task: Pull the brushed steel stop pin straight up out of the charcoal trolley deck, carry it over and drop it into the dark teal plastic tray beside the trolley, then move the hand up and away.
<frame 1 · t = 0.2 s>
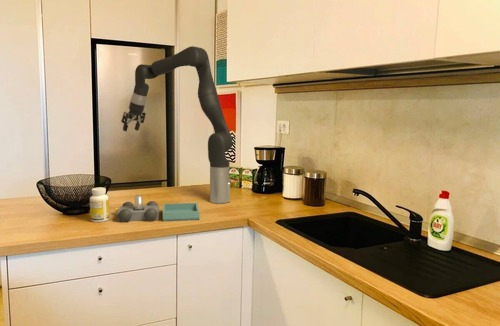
hand: (130, 130, 220), 31 cm above the worktop, tool tilted 20°, fingers open, 8 cm apart
supplement bottle: (100, 220, 165), on the worktop
stop pin: (139, 217, 170), resting in trolley
tray: (180, 215, 173), on the worktop
trolley: (139, 217, 170), on the worktop
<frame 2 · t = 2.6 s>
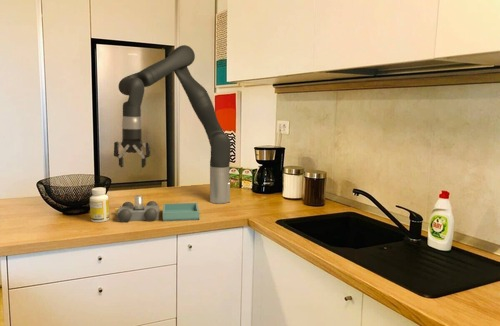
hand: (132, 167, 169), 20 cm above the worktop, tool pointing down, fingers open, 8 cm apart
nothing on the worktop moved.
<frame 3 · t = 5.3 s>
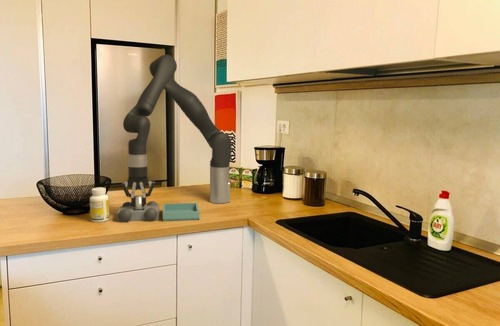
hand: (138, 206, 169), 5 cm above the worktop, tool pointing down, fingers closed on stop pin, 3 cm apart
stop pin: (139, 217, 170), resting in trolley, touching gripper
everything else where it was.
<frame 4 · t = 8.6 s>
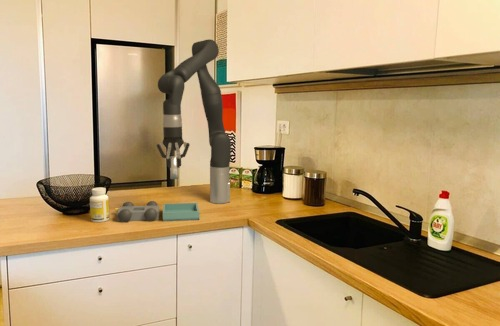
hand: (174, 167, 170), 21 cm above the worktop, tool pointing down, fingers closed on stop pin, 3 cm apart
stop pin: (174, 178, 170), point 16 cm above the worktop, touching gripper
everything else where it was.
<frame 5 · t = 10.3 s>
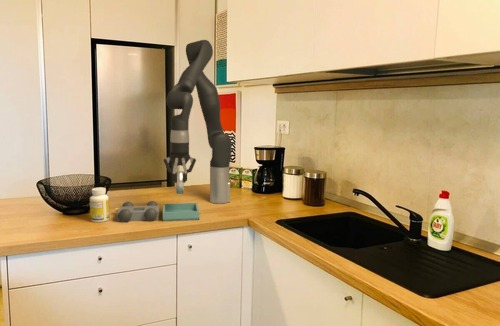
hand: (179, 182, 171), 14 cm above the worktop, tool pointing down, fingers closed on stop pin, 3 cm apart
stop pin: (179, 193, 172), point 10 cm above the worktop, touching gripper
everything else where it was.
when the fingers open (7 cm above the worktop, at t = 11.9 s): stop pin drops 1 cm, resting on tray.
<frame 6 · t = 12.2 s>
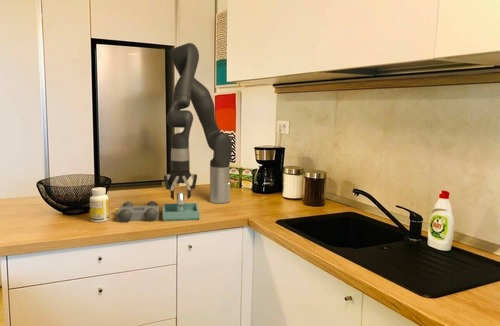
hand: (180, 198, 172), 7 cm above the worktop, tool pointing down, fingers open, 5 cm apart
stop pin: (180, 213, 173), point 1 cm above the worktop, touching tray
everything else where it was.
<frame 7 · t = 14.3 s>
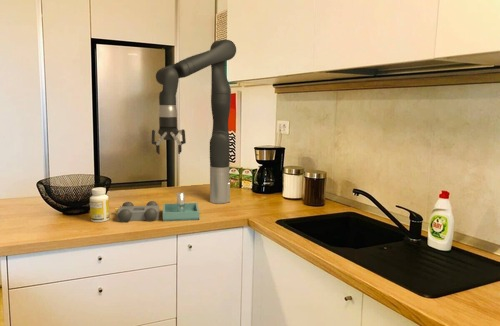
hand: (168, 153, 177), 25 cm above the worktop, tool pointing down, fingers open, 8 cm apart
nothing on the worktop moved.
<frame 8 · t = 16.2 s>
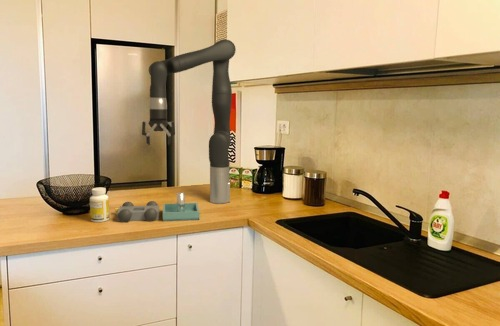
hand: (158, 144, 184), 28 cm above the worktop, tool pointing down, fingers open, 8 cm apart
nothing on the worktop moved.
at the end: stop pin inside the target area on the tray (0.1 cm from its centre), point 0.8 cm above the tray's base; the gripper is holding nothing; stop pin moved 17.1 cm from its start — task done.
